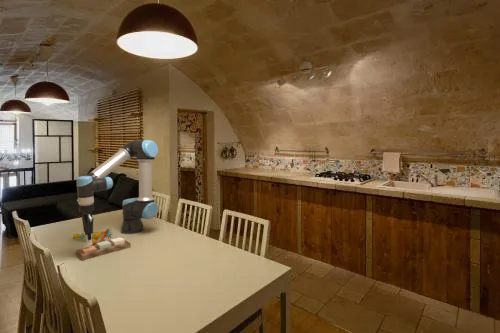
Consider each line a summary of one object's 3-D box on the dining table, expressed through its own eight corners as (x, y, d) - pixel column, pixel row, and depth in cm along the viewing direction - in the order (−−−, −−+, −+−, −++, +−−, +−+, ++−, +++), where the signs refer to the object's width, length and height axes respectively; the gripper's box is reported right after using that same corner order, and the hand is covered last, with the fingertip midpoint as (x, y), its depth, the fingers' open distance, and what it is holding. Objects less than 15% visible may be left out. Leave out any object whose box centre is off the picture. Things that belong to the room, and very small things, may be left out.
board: (122, 242, 178) (122, 238, 178) (130, 247, 170) (130, 243, 170) (75, 254, 160) (75, 250, 159) (82, 260, 151) (82, 255, 151)
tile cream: (120, 240, 175) (120, 237, 175) (124, 243, 171) (124, 239, 170) (110, 243, 170) (110, 239, 170) (114, 246, 166) (114, 242, 166)
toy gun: (95, 239, 166) (110, 225, 179) (57, 243, 171) (74, 229, 185) (101, 251, 169) (115, 236, 182) (63, 254, 174) (80, 239, 188)
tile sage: (107, 244, 169) (107, 240, 169) (111, 247, 165) (111, 243, 165) (96, 247, 165) (96, 243, 164) (100, 249, 161) (100, 245, 160)
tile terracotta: (92, 249, 163) (92, 245, 163) (96, 252, 159) (96, 248, 159) (81, 252, 159) (81, 248, 159) (84, 255, 155) (84, 251, 155)
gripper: (75, 203, 158) (78, 243, 161) (82, 207, 149) (85, 250, 152) (89, 201, 164) (92, 240, 166) (97, 204, 155) (100, 246, 157)
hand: (89, 244), depth 159 cm, fingers closed
